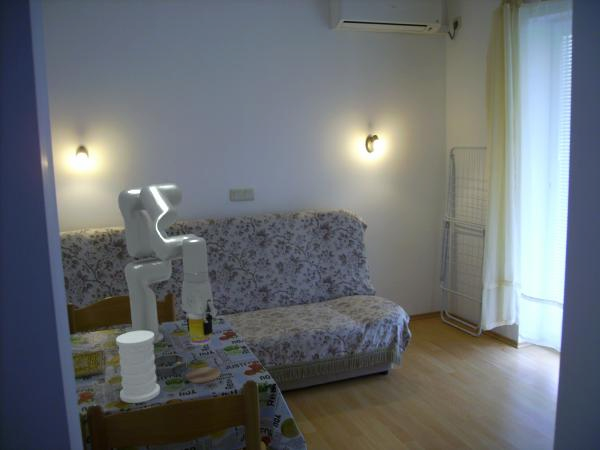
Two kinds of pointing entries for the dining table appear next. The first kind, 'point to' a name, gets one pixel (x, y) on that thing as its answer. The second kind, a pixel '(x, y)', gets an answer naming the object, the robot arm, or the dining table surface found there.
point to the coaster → (203, 375)
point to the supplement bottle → (197, 330)
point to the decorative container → (137, 366)
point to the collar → (172, 370)
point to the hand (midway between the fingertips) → (200, 331)
